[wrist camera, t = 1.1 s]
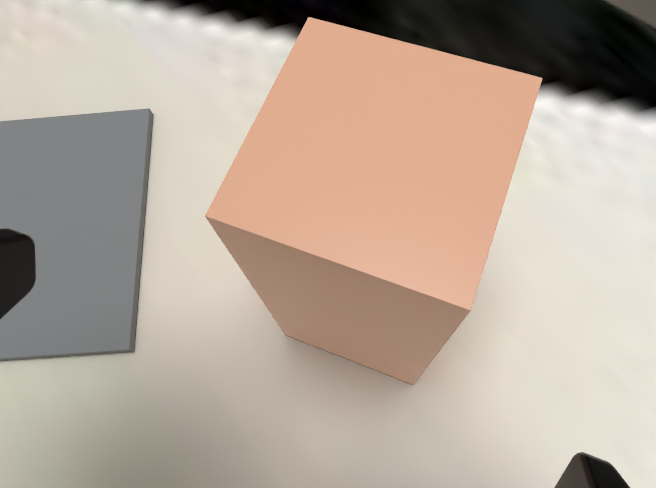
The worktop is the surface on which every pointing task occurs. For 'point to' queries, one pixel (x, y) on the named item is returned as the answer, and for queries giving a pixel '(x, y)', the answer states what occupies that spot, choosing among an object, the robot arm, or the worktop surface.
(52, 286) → the rubber mat
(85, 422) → the worktop surface
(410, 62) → the salmon pink pillar
